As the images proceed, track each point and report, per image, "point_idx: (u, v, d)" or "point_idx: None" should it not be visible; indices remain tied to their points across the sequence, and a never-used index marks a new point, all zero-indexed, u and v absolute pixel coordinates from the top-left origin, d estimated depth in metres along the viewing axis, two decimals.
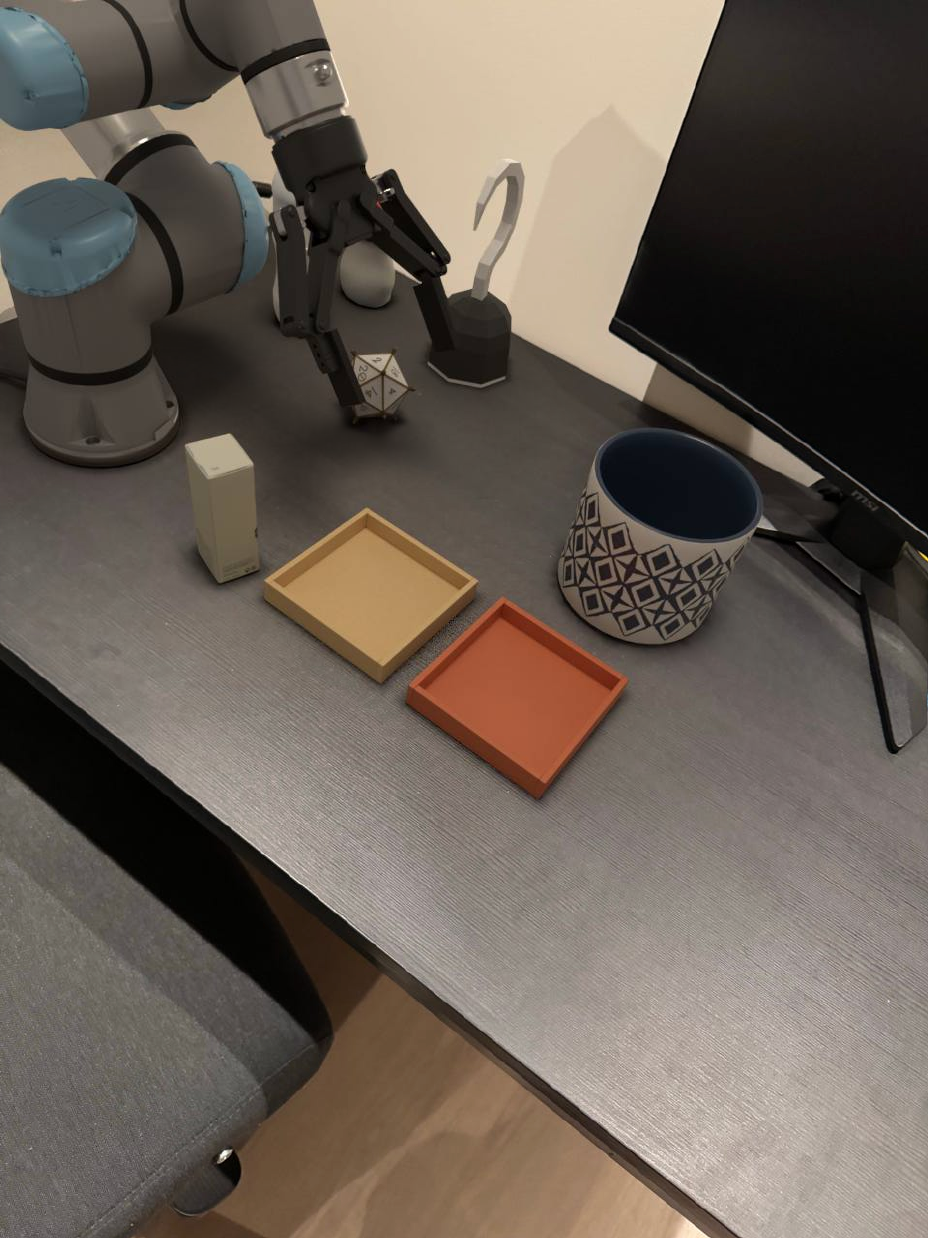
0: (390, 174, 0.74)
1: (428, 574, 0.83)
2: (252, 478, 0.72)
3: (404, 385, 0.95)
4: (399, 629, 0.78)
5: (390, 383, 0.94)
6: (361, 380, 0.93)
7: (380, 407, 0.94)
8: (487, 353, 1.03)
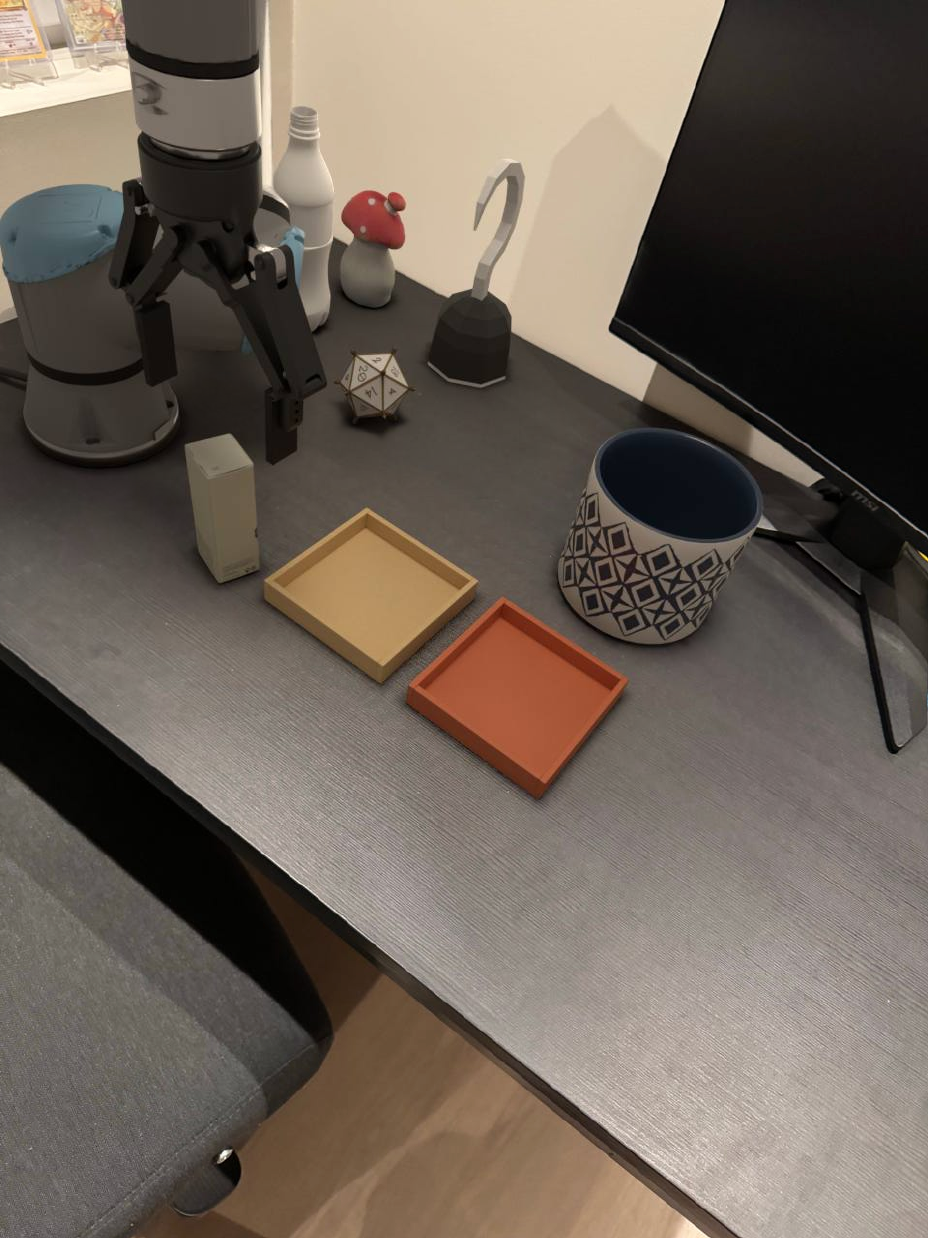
0: (256, 260, 0.54)
1: (428, 574, 0.83)
2: (252, 478, 0.72)
3: (404, 385, 0.95)
4: (399, 629, 0.78)
5: (390, 383, 0.94)
6: (361, 380, 0.93)
7: (379, 407, 0.94)
8: (487, 353, 1.03)
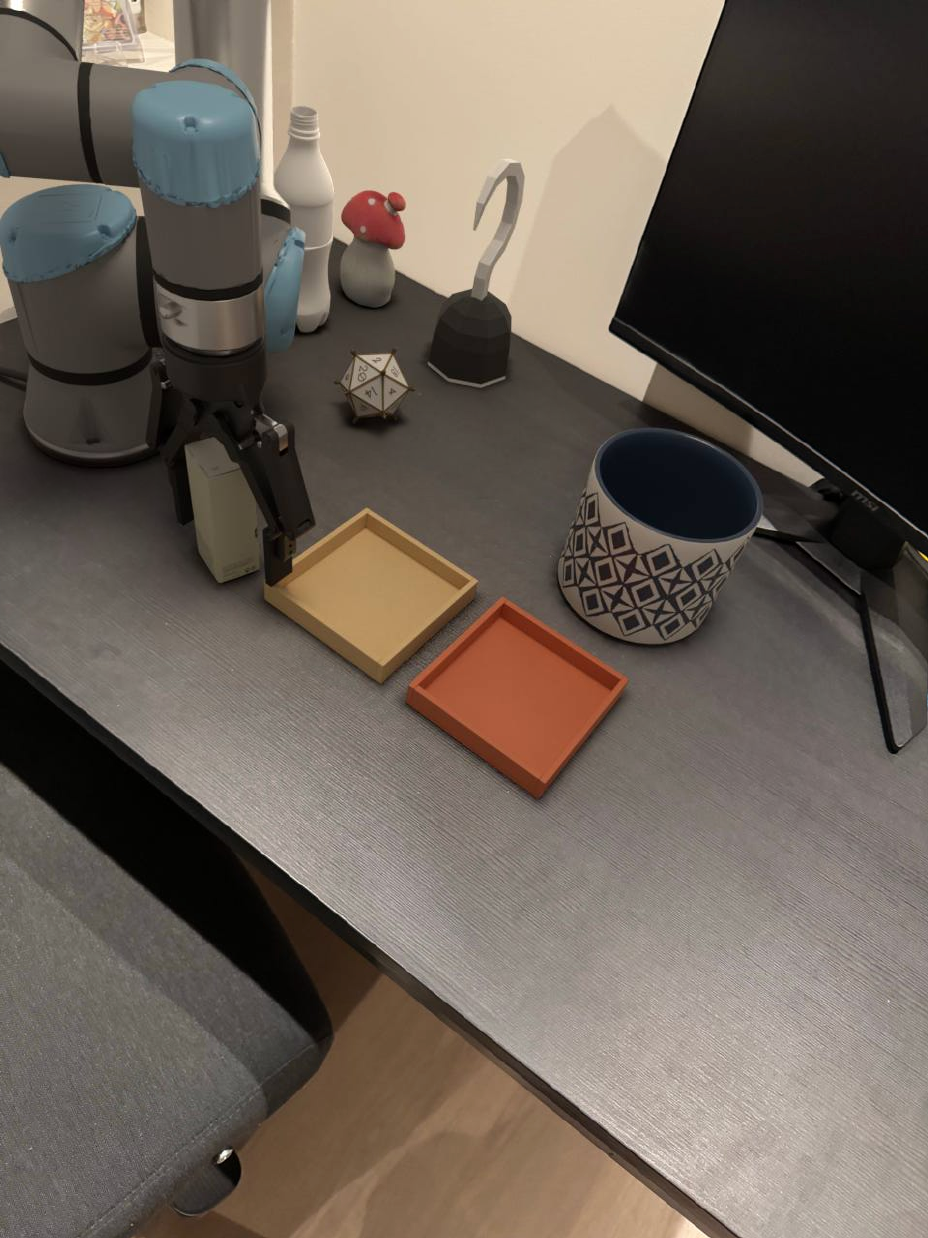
0: (263, 436, 0.64)
1: (428, 574, 0.83)
2: None
3: (404, 385, 0.95)
4: (399, 629, 0.78)
5: (390, 383, 0.94)
6: (361, 380, 0.93)
7: (379, 407, 0.94)
8: (487, 353, 1.03)
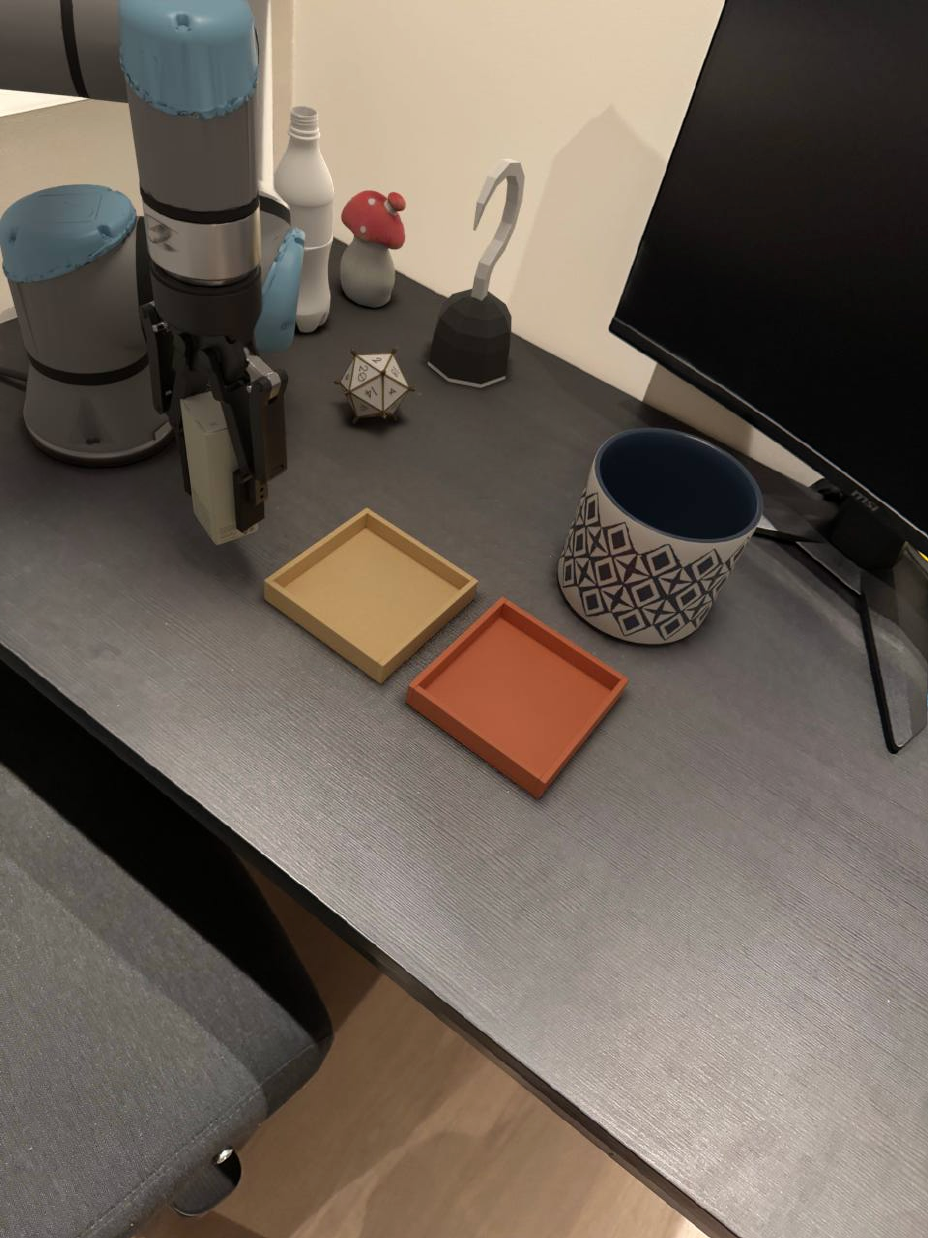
0: (256, 383, 0.61)
1: (428, 574, 0.83)
2: None
3: (404, 385, 0.95)
4: (399, 629, 0.78)
5: (390, 383, 0.94)
6: (361, 380, 0.93)
7: (380, 407, 0.94)
8: (487, 353, 1.03)
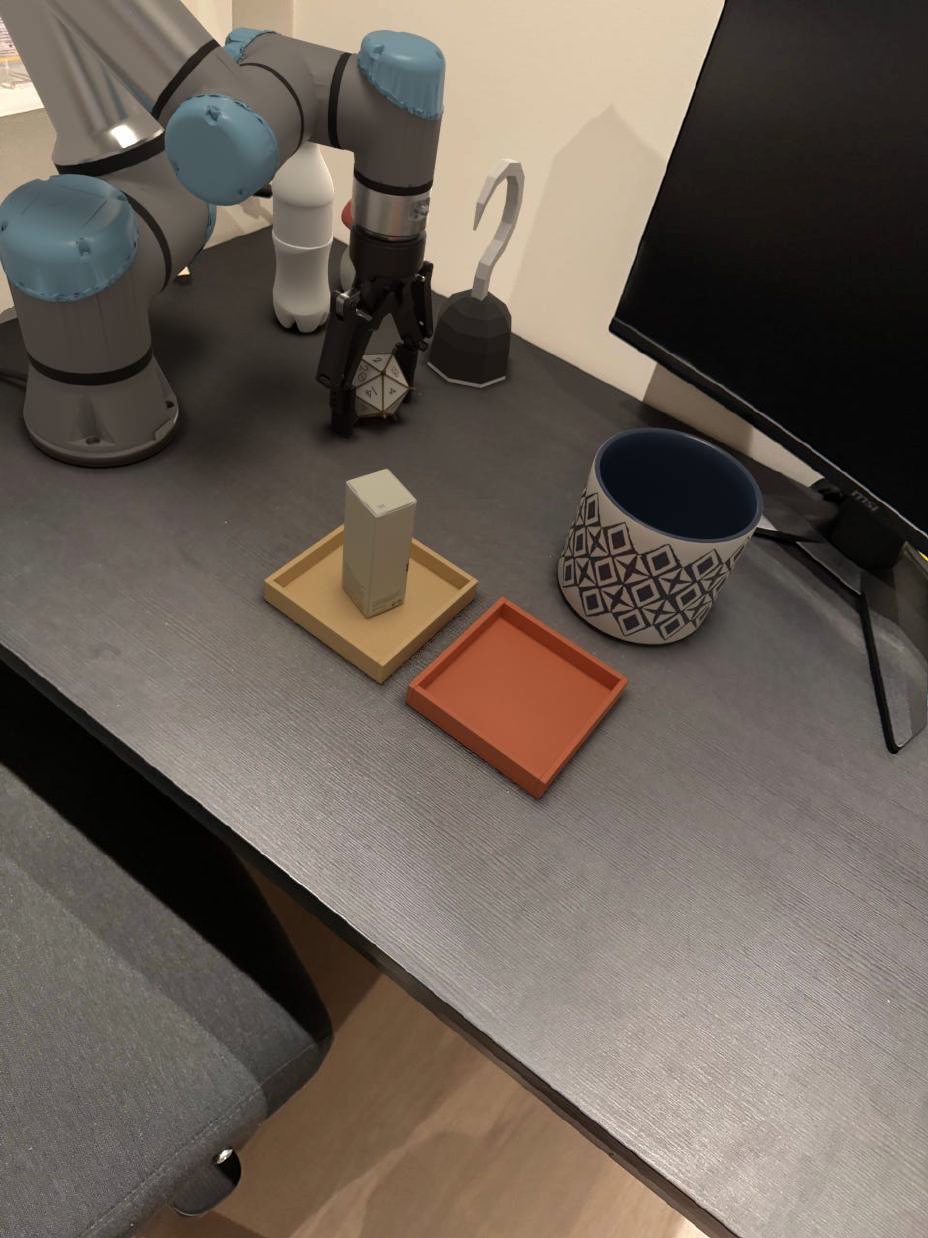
0: (429, 267, 0.90)
1: (428, 574, 0.83)
2: (413, 514, 0.71)
3: (404, 385, 0.95)
4: (399, 629, 0.78)
5: (390, 383, 0.94)
6: (361, 380, 0.93)
7: (380, 407, 0.94)
8: (487, 353, 1.03)
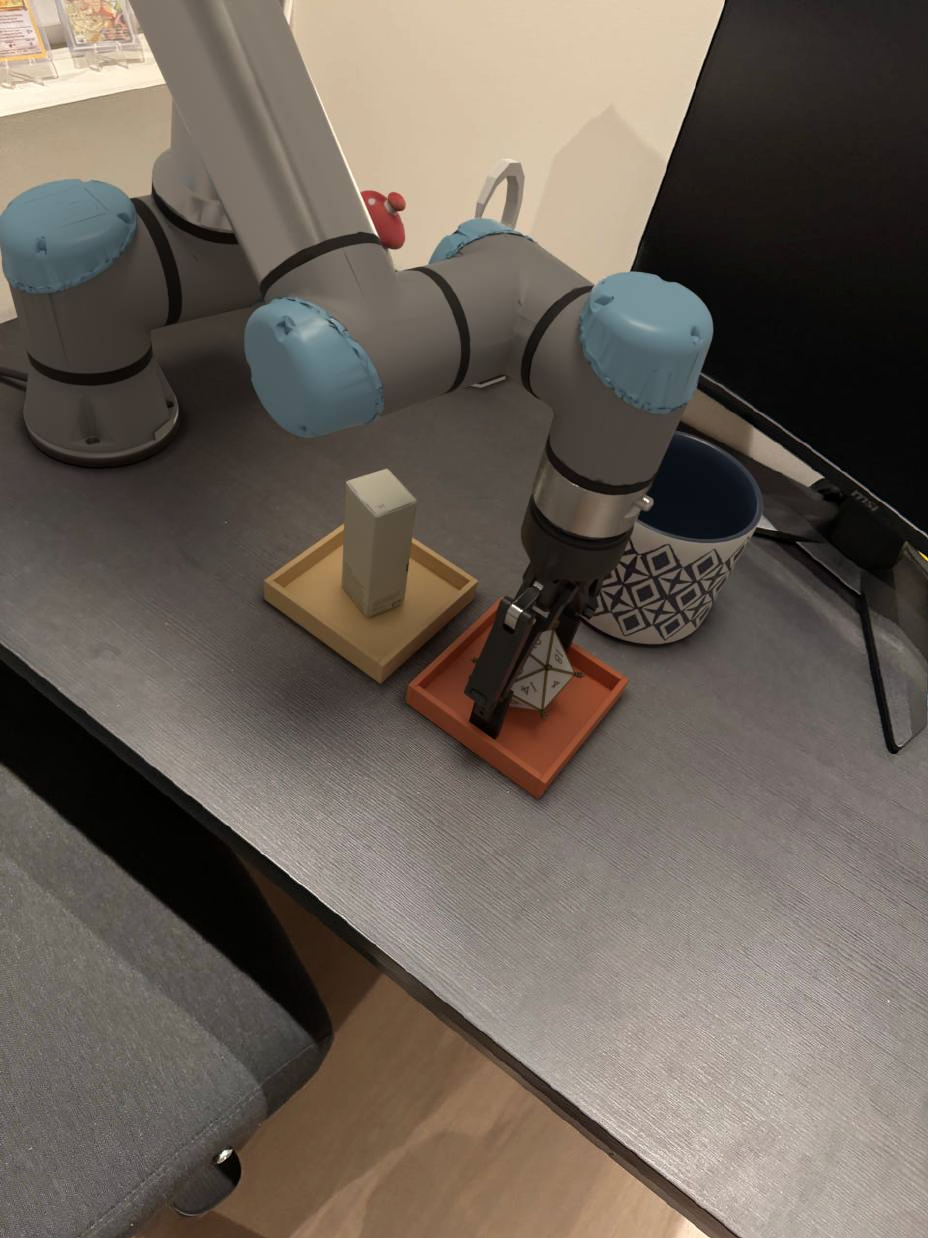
0: None
1: (428, 574, 0.83)
2: (413, 514, 0.71)
3: (569, 672, 0.71)
4: (399, 629, 0.78)
5: (554, 676, 0.69)
6: None
7: (538, 705, 0.70)
8: None
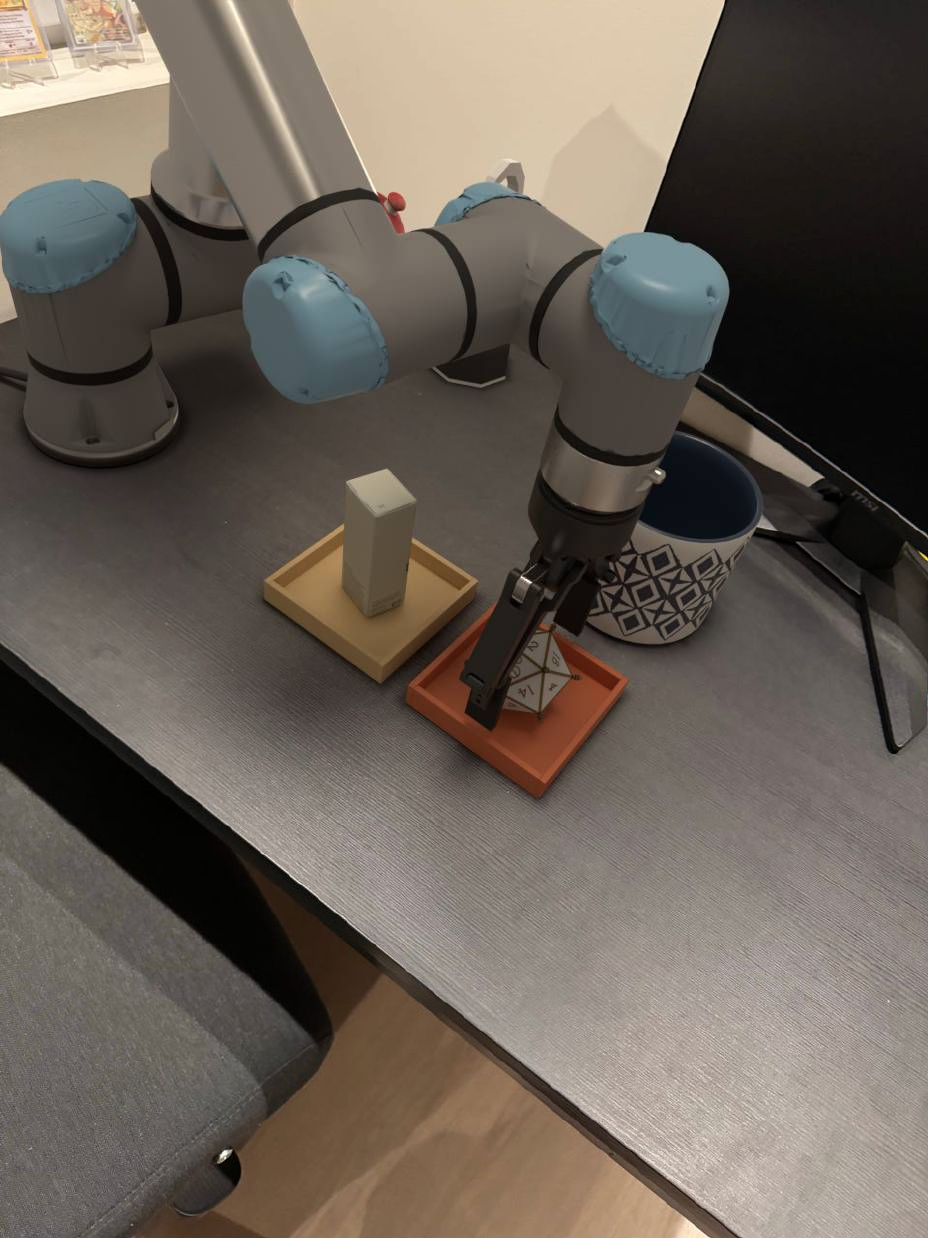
0: None
1: (428, 574, 0.83)
2: (413, 514, 0.71)
3: (567, 675, 0.71)
4: (399, 629, 0.78)
5: (551, 679, 0.69)
6: (513, 677, 0.69)
7: (536, 708, 0.70)
8: (487, 353, 1.03)
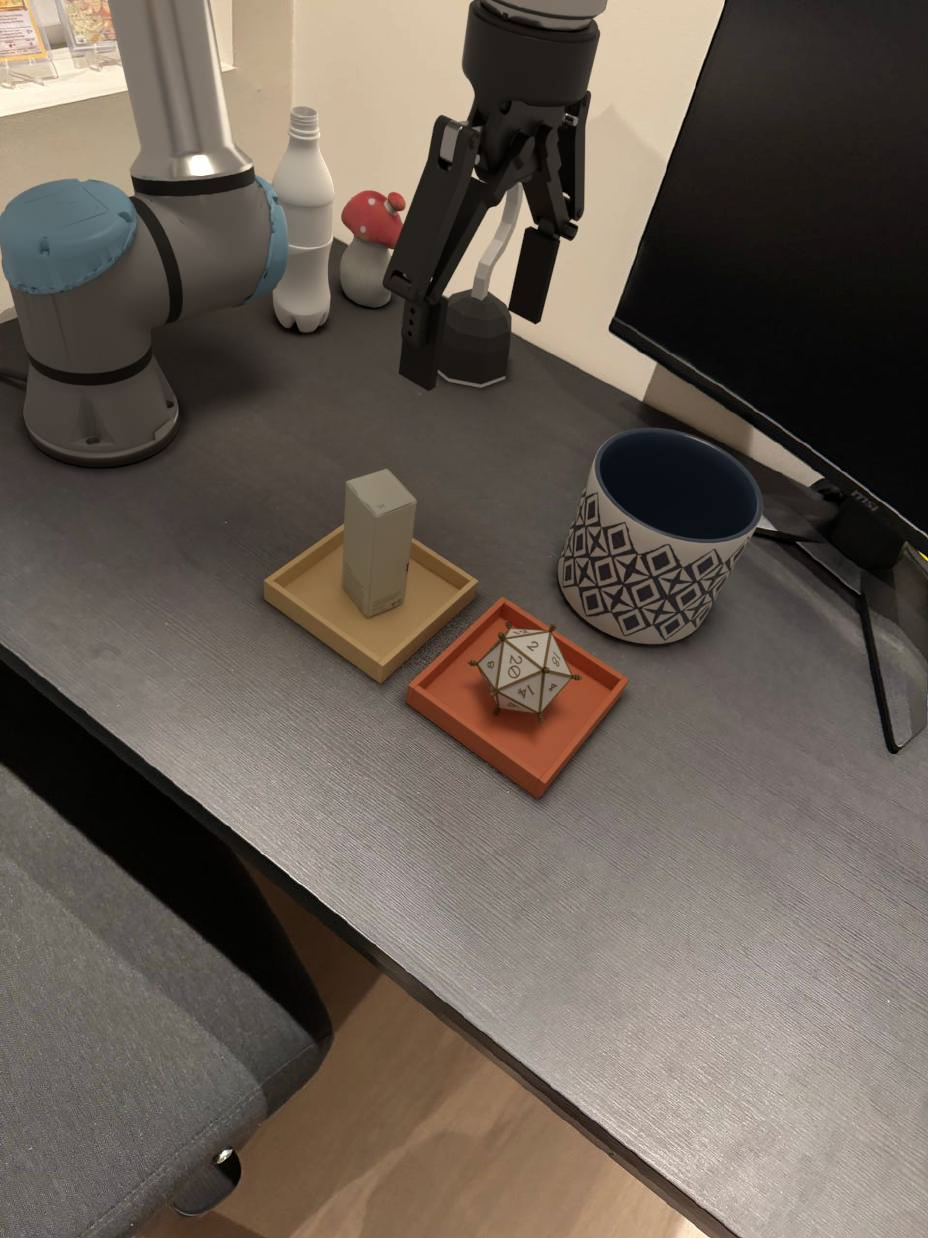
0: (584, 99, 0.54)
1: (428, 574, 0.83)
2: (413, 514, 0.71)
3: (567, 675, 0.71)
4: (399, 629, 0.78)
5: (551, 679, 0.69)
6: (513, 677, 0.69)
7: (536, 708, 0.70)
8: (487, 353, 1.03)
